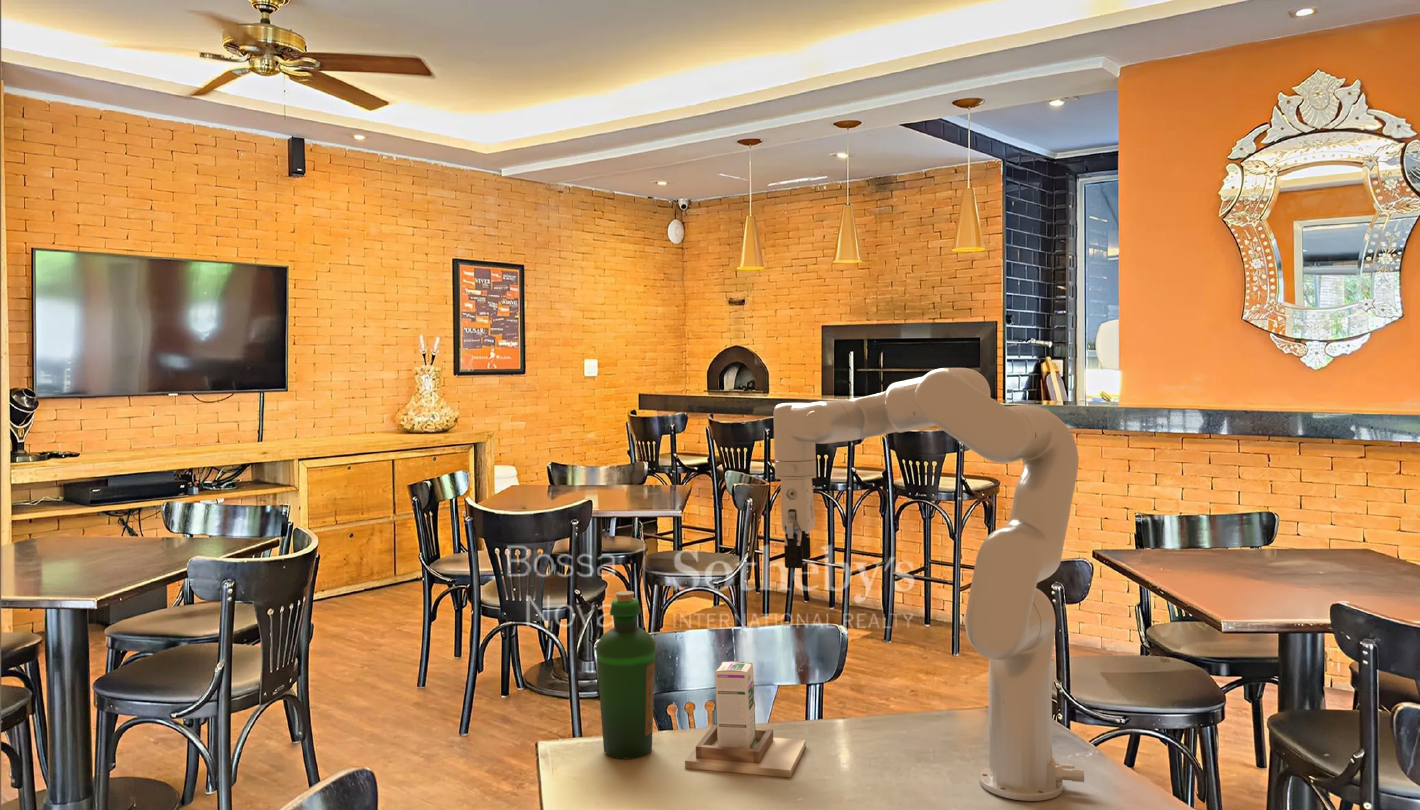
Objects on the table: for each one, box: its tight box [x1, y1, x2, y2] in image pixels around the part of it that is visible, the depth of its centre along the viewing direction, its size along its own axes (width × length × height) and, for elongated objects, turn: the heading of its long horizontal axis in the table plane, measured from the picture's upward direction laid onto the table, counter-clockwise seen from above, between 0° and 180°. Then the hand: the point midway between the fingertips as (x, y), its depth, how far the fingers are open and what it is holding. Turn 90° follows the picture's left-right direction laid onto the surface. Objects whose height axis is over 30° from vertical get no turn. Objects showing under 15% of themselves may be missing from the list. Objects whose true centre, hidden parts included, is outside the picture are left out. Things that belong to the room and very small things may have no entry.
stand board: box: [684, 724, 807, 778], centre depth 171 cm, size 18×14×3 cm
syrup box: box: [714, 661, 756, 749], centre depth 171 cm, size 6×6×14 cm
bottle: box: [595, 590, 656, 760], centre depth 174 cm, size 11×11×28 cm
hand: (798, 563), depth 182 cm, fingers open, 9 cm apart
